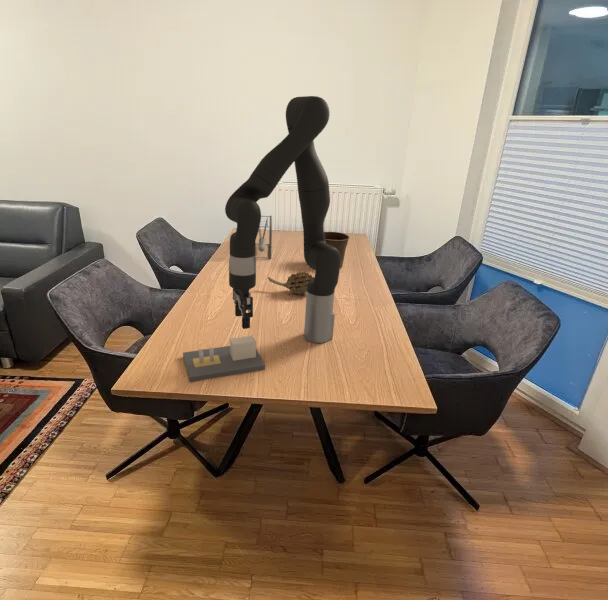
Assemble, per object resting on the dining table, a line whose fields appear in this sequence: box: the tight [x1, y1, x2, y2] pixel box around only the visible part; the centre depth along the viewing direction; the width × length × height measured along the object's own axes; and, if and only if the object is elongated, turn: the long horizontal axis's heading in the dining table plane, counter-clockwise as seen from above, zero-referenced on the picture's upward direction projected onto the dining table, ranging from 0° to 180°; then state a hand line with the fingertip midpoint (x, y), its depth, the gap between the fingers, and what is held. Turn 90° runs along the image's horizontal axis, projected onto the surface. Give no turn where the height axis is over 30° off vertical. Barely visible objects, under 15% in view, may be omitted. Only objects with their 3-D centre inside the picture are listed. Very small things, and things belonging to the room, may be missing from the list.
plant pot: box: [324, 231, 350, 269], centre depth 211 cm, size 16×16×16 cm
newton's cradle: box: [255, 215, 273, 260], centre depth 228 cm, size 30×10×18 cm, turn 4°
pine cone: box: [267, 270, 315, 295], centre depth 176 cm, size 22×10×10 cm, turn 84°
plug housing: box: [229, 334, 257, 361], centre depth 125 cm, size 7×4×6 cm, turn 112°
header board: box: [182, 345, 266, 383], centre depth 123 cm, size 22×14×6 cm, turn 112°
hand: (242, 321), depth 121 cm, fingers open, 8 cm apart
